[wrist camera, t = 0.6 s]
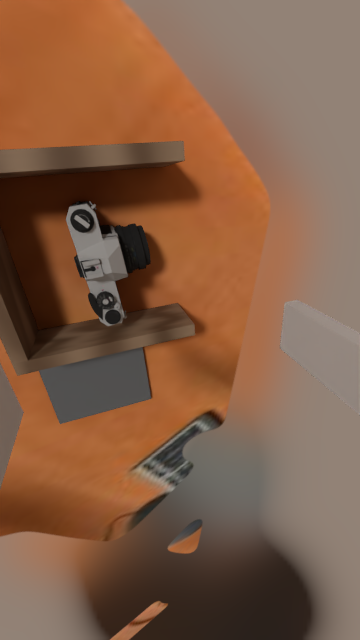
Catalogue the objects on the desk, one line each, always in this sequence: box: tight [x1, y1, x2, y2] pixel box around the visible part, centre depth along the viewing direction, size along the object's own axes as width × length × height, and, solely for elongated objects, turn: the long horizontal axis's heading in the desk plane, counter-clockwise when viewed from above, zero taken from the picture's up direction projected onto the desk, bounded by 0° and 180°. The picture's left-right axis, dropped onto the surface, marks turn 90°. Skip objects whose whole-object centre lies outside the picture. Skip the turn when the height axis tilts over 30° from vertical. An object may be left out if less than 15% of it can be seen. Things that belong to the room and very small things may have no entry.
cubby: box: [0, 141, 195, 376], centre depth 29 cm, size 20×20×7 cm
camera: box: [66, 201, 151, 326], centre depth 29 cm, size 13×8×9 cm, turn 12°
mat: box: [39, 347, 151, 424], centre depth 39 cm, size 14×12×1 cm
